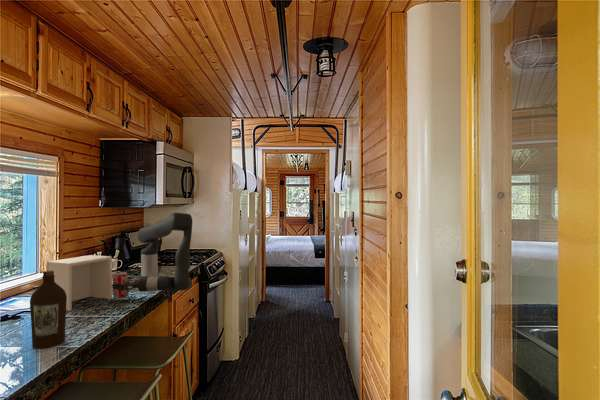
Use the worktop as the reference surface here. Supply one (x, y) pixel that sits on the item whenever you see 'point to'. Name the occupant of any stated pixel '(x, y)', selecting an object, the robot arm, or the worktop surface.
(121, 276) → the soda can
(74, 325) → the worktop surface
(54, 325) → the olive oil
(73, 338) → the worktop surface
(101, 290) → the cubby
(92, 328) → the worktop surface
